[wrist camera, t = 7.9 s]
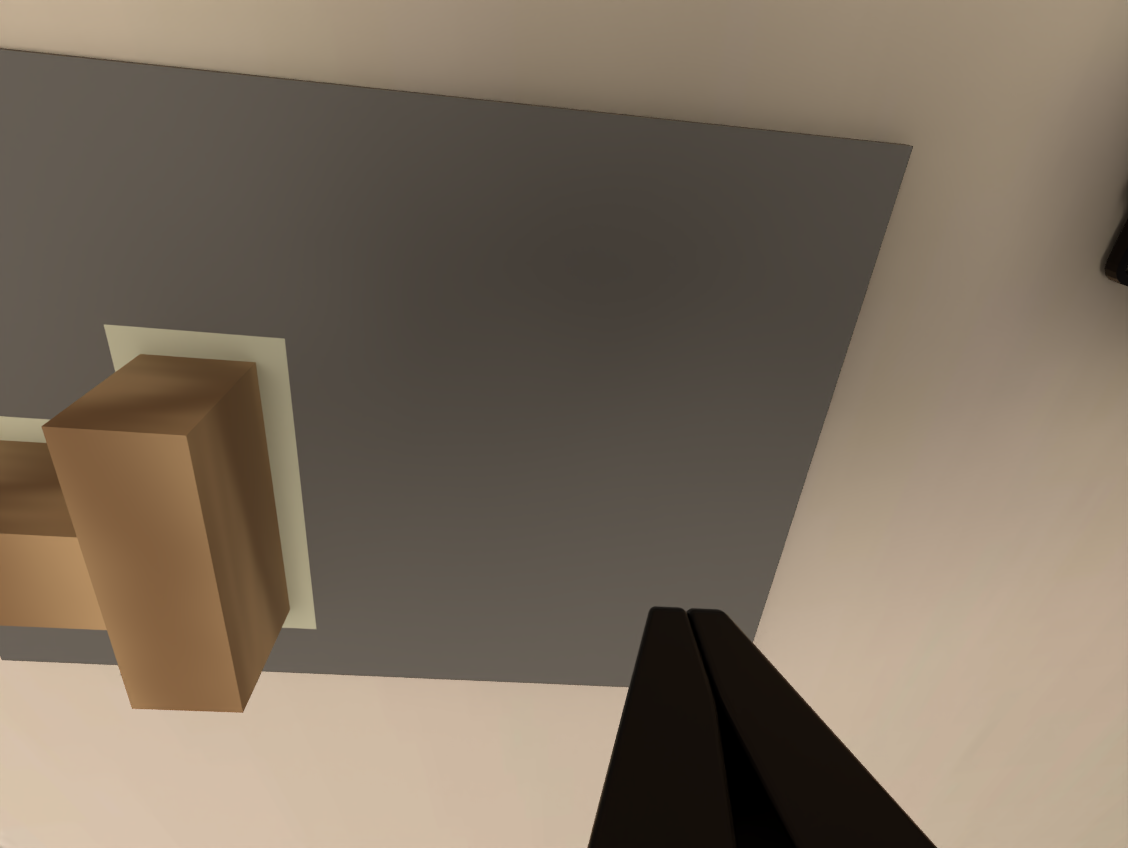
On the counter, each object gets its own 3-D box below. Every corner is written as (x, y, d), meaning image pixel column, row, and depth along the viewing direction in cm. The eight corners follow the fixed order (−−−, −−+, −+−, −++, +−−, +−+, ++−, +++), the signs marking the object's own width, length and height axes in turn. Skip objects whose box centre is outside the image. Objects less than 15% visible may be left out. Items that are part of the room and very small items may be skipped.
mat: (905, 144, 16) (913, 146, 16) (734, 683, 25) (736, 692, 25) (-254, 21, 14) (-274, 20, 14) (10, 650, 23) (1, 660, 23)
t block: (255, 362, 18) (186, 435, 14) (290, 609, 22) (243, 712, 19) (-100, 336, 17) (-263, 407, 14) (6, 596, 22) (-98, 700, 18)
